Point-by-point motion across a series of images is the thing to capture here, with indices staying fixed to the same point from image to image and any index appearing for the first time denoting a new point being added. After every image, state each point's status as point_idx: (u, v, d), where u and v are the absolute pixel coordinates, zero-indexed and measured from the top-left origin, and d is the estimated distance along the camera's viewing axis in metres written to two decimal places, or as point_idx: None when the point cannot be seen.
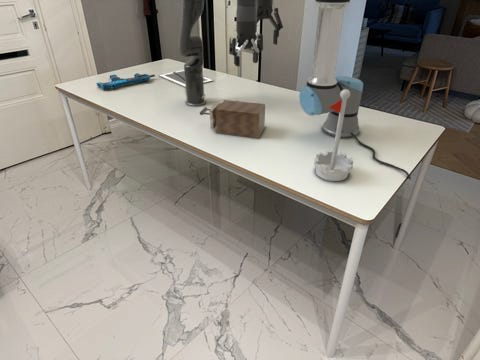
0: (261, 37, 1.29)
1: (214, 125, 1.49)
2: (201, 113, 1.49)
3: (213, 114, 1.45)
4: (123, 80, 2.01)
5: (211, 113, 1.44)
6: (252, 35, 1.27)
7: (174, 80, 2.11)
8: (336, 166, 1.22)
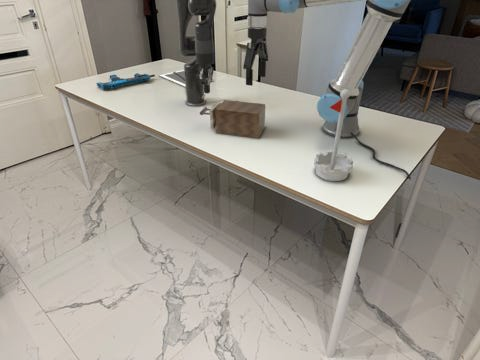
0: (213, 69, 1.45)
1: (214, 125, 1.49)
2: (201, 113, 1.49)
3: (213, 114, 1.45)
4: (123, 80, 2.01)
5: (211, 113, 1.44)
6: (209, 64, 1.41)
7: (174, 80, 2.11)
8: (336, 166, 1.22)
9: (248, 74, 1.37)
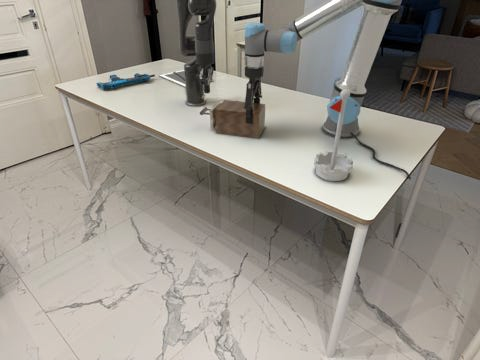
0: (213, 69, 1.45)
1: (214, 125, 1.49)
2: (201, 113, 1.49)
3: (213, 114, 1.45)
4: (123, 80, 2.01)
5: (211, 113, 1.44)
6: (209, 64, 1.41)
7: (174, 80, 2.11)
8: (336, 166, 1.22)
9: (249, 113, 1.37)
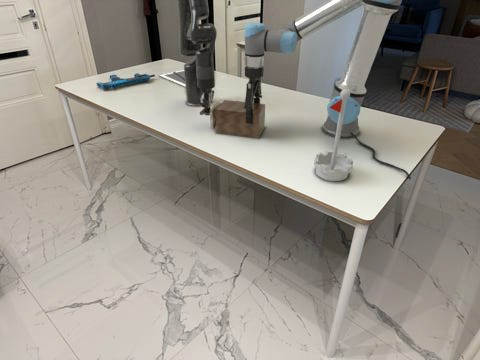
0: (213, 92, 1.51)
1: (214, 125, 1.49)
2: (201, 113, 1.49)
3: (213, 114, 1.45)
4: (123, 80, 2.01)
5: (211, 113, 1.44)
6: None
7: (174, 80, 2.11)
8: (336, 166, 1.22)
9: (249, 113, 1.37)
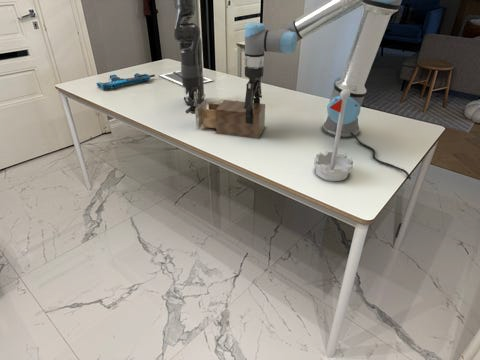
0: (199, 91, 1.52)
1: (200, 123, 1.51)
2: (187, 111, 1.50)
3: (198, 112, 1.47)
4: (123, 80, 2.01)
5: (196, 111, 1.46)
6: (195, 86, 1.48)
7: (174, 80, 2.11)
8: (336, 166, 1.22)
9: (249, 113, 1.37)
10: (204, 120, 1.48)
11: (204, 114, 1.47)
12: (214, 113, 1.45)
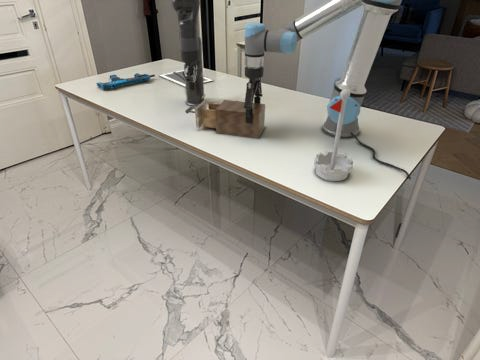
0: (198, 67, 1.46)
1: (200, 123, 1.51)
2: (187, 111, 1.50)
3: (198, 112, 1.47)
4: (123, 80, 2.01)
5: (196, 111, 1.46)
6: (195, 61, 1.42)
7: (174, 80, 2.11)
8: (336, 166, 1.22)
9: (249, 113, 1.36)
10: (204, 120, 1.48)
11: (204, 114, 1.47)
12: (214, 113, 1.45)
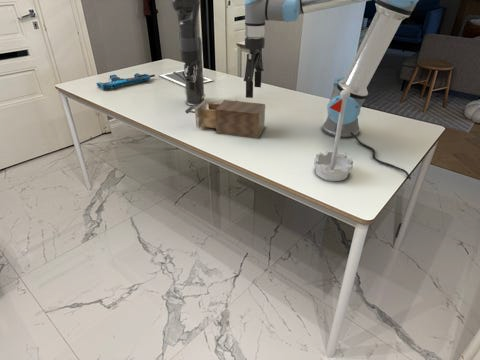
0: (198, 67, 1.46)
1: (200, 123, 1.51)
2: (187, 111, 1.50)
3: (198, 112, 1.47)
4: (123, 80, 2.01)
5: (196, 111, 1.46)
6: (195, 61, 1.42)
7: (174, 80, 2.11)
8: (336, 166, 1.22)
9: (249, 86, 1.30)
10: (204, 120, 1.48)
11: (204, 114, 1.47)
12: (214, 113, 1.45)
